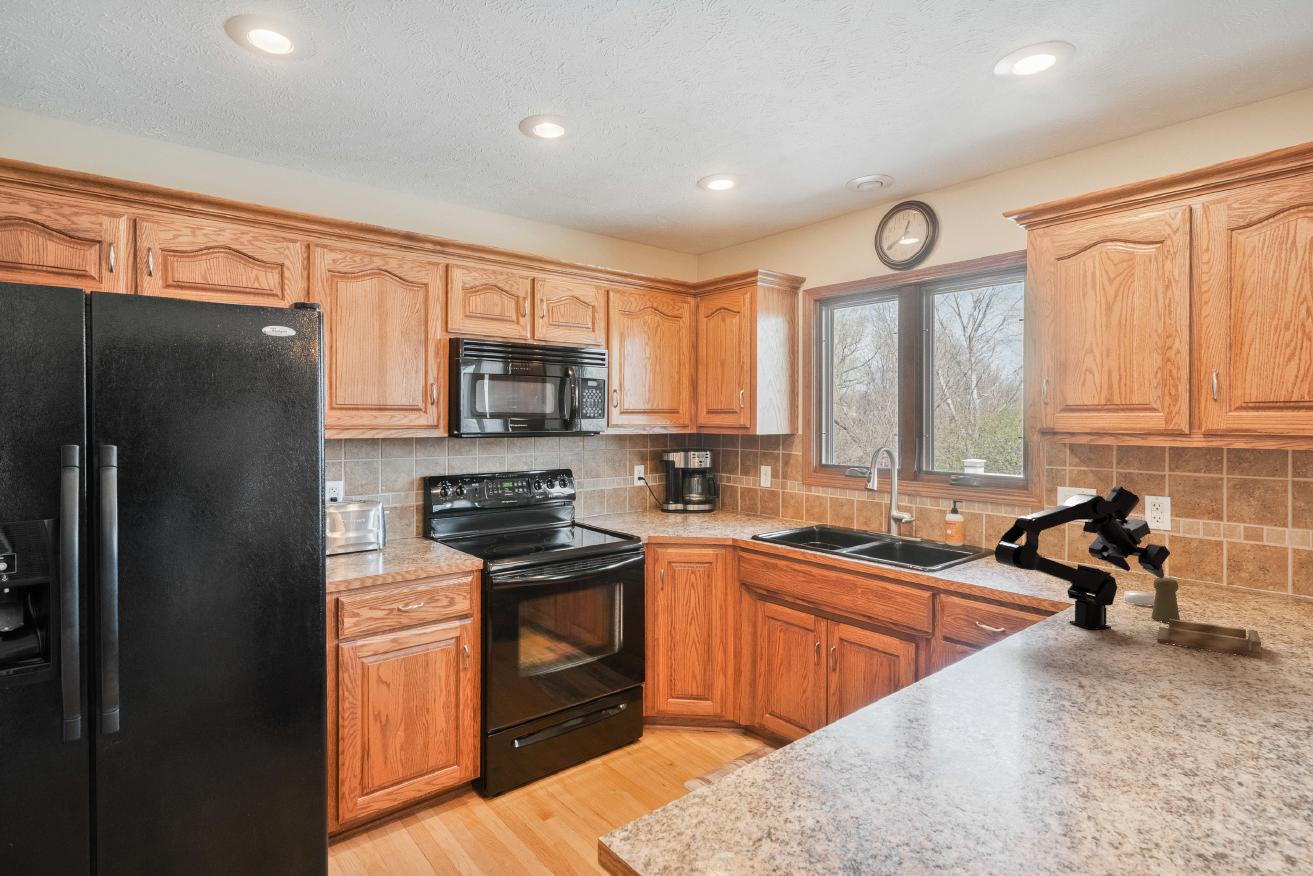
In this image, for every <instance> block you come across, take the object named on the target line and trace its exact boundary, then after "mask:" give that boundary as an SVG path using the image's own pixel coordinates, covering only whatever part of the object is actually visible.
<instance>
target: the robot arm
mask: <svg viewBox="0 0 1313 876" xmlns="http://www.w3.org/2000/svg"><path fill="white" fill-rule="evenodd" d="M1139 503H1140V498H1139V496H1138V495H1137V494H1134V493H1133V492H1132V491H1129V490H1128V489H1125V488H1124V487H1123V486H1119V485H1118V486H1117V485H1114V486H1113V488H1112V489H1111V491H1110V492H1109V493H1108V494H1107V496H1106V497H1105V498H1104V497H1103V496H1102V495H1096V494H1095V495H1094V494H1086V493H1077V494H1075V495H1073V496H1071V497H1069V498H1067V499H1066V501H1065V502H1064V503H1063V504H1060V505H1057V506H1053V507H1049V508H1048V509H1044V510H1041V511H1038V512H1034V513H1032V514H1031V513H1030V514H1028V515H1021V516H1019V517H1017V519H1016V520H1015V521H1014V524H1013V525H1012V526H1011V527H1010V528H1009V529H1008V530H1007V531H1006V532H1005V533H1004V534H1003V535H1002V536H1001V538H1000V539H999V542H998V544H997V545H996V547H995V549H994V558H995V561H996V562H997V563H999V564H1000V565H1003V566H1004V565H1005V566H1008V567H1012V568H1016V569H1020V570H1027V571H1035V572H1037V573H1041V574H1043V575H1047V576H1050V577H1052V578H1056V579H1058V580H1061V581H1065V582H1067V583H1069V584H1071V585H1070V586H1069V587H1068V589H1066V590H1067V597H1068V598H1069V599H1072V600H1074V620H1069V623H1070V624H1072V625H1074V626H1078V627H1081V628H1083V629H1087V630H1089V631H1090V630H1092V631H1094V630H1103V629H1104V630H1105V629H1106V630H1107V629H1111V628H1112V626H1111V625H1109V624H1107V607H1106V606H1112V605H1113V604H1114V600H1115V598H1116V593H1117V590H1118V584H1117V581H1116V578H1115V577H1114V576H1112V575H1111V574H1112V573H1111V572H1109V571H1104V570H1102V569H1099V568H1097V567H1094V566H1093V567H1092V566H1087V565H1083V564H1080V563H1079V564H1077V568H1075V567H1073V566H1069V565H1067V564H1064V563H1061V562H1058V561H1055V560H1052V559H1049V558H1047V557H1044V556H1041V555H1040V554H1039V553H1038V550H1039V545H1040V544H1039V535H1040V534H1041V532H1042V531H1045V530H1050V529H1052V528H1055V527H1058V526H1061V525H1065V524H1068V523H1071V522H1074V521H1083V520H1084V525H1083V529H1082V532H1084V533H1090V534H1096V535H1097V536H1096V538H1095V539H1094V540H1093V542H1092V543H1091V544H1090V546H1089V547H1088V553H1089V554H1090V556H1091V557H1093V558H1097V559H1098V560H1100V561H1103V562H1105V563H1107V564H1110V565H1112V566H1114V567H1117V568H1118V569H1121V570H1124V571H1126V572H1130V570H1131V566H1130V565H1129V563H1128V562H1127V560H1126V559H1128V558H1129V556H1133V557H1134V556H1135V557H1137V558H1138V559H1137V560H1138V561H1137V562H1138V564H1139V565H1140V566H1141V567H1142V569H1144V570H1145V571H1147V572H1148V573H1150V574H1152V575H1153V576H1155V577H1156V578H1161V579H1162V578H1165V573H1164V572H1165V571H1164V569H1163V564H1164V563H1165V561H1166V560H1167V558H1168V557H1169V556H1170V555H1171V550H1169V549H1168V548H1167V546H1166V545H1161V544H1156V543H1149V544H1147V545H1146V546H1145V547H1141V546H1139V545H1140V544H1141V543H1142V542H1143V541H1142V538H1144V537H1146V536H1147V535H1150V534H1151V533H1152V531H1151V529H1150V526H1149V524H1148V523H1149V522H1148V521H1147V520H1143V519H1135V518H1134V519H1133V518H1131V519H1128V517H1129V515H1130V514H1131V513H1132V512H1133V510H1134V509H1135V508H1136V507H1137V505H1138V504H1139ZM1087 520H1088V521H1087ZM1025 534H1026V536H1025ZM1023 535H1024V536H1025V539H1026V540H1025V543H1024V544H1021V543H1016V542H1017V541H1019V539H1020V538H1021V537H1023Z"/></svg>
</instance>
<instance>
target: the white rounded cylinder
mask: <svg viewBox="0 0 1313 876" xmlns="http://www.w3.org/2000/svg"><path fill="white" fill-rule="evenodd" d="M1123 593H1124V597H1123V598H1124V599H1123V600H1125V601H1126V602H1129V603H1134V604H1142V605H1153V604H1154V599H1155V594H1154V593H1151V592H1146V591H1140V590H1125V591H1124V592H1123Z"/></svg>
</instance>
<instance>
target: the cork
mask: <svg viewBox="0 0 1313 876" xmlns="http://www.w3.org/2000/svg"><path fill="white" fill-rule="evenodd" d="M1153 587H1154V589H1155V594H1154V605H1153V606H1152V613H1151V618H1152V619H1154V620H1157V621H1156V622H1158V621H1162V622H1161V623H1163V622H1169V619H1176V620H1181V619H1180V612H1179V605H1178V600H1177V594H1176V592H1178V589H1179V583H1178V581H1177V580H1176V579H1173V578H1169V577H1163V578H1162V579H1161V578H1159V577H1156V578H1155V579H1154V580H1153ZM1151 618H1150V619H1151ZM1152 619H1151V620H1152ZM1154 620H1153V621H1154Z"/></svg>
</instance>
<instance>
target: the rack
mask: <svg viewBox="0 0 1313 876" xmlns="http://www.w3.org/2000/svg"><path fill="white" fill-rule="evenodd" d="M1247 637H1248V638H1247ZM1156 640H1157V641H1156V642H1160V643H1159V644H1163V643H1168V644H1167V645H1169V644H1175V645H1174V646H1176V645H1181V646H1180V647H1182V646H1187V647H1186V648H1188V647H1191V648H1190V649H1195V648H1197V649H1196V650H1201V649H1203V651H1207V650H1211V651H1210V652H1214V651H1216V653H1220V652H1223V653H1222V654H1226V653H1229V654H1228V655H1233V654H1236V655H1235V656H1239V655H1241V657H1245V656H1247V658H1252V659H1261V660H1262V641H1261V638H1260V635H1259V632H1258V630H1254V629H1248V636H1247V629H1246V628H1240V627H1232V626H1226V625H1218V624H1212V623H1203V622H1197V621H1187V620H1182V619H1180V620H1176V619H1169V623H1168V627H1162V626H1159V627H1158V632H1157V638H1156Z"/></svg>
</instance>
